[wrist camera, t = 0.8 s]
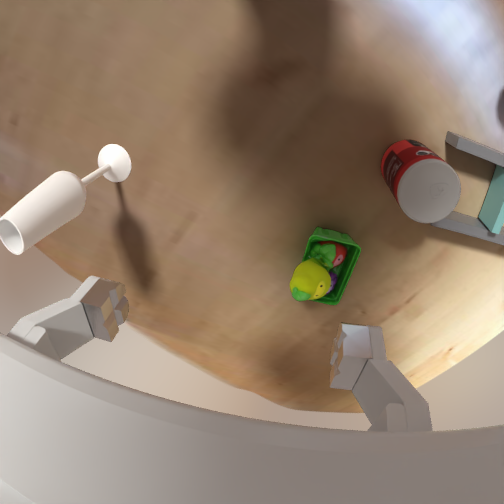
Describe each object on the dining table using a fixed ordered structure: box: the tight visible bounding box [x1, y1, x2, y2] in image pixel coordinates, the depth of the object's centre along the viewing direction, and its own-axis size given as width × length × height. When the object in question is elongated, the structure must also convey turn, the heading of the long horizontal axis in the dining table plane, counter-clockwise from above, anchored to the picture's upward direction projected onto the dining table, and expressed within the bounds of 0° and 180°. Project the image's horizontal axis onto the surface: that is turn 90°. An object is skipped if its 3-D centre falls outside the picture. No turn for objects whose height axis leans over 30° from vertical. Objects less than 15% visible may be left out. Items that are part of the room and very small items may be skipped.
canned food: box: [381, 140, 461, 223], centre depth 36 cm, size 8×8×11 cm
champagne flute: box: [0, 144, 131, 255], centre depth 38 cm, size 7×7×24 cm
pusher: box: [479, 165, 504, 234], centre depth 37 cm, size 9×2×5 cm, turn 174°
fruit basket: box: [290, 227, 361, 305], centre depth 46 cm, size 11×9×11 cm
